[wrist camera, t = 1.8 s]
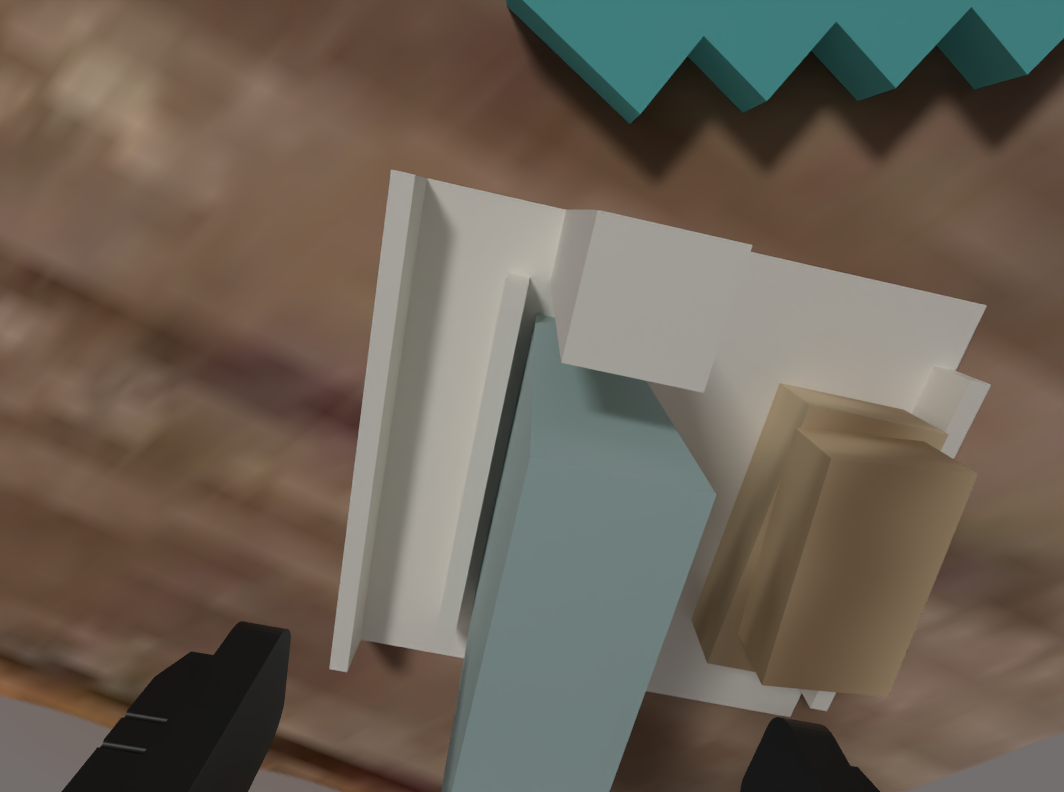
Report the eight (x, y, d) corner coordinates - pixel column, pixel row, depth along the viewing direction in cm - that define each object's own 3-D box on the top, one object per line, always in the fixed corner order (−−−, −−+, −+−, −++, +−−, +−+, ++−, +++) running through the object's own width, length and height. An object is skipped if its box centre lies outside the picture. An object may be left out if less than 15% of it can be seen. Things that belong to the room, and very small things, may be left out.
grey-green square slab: (615, 330, 16) (717, 494, 7) (542, 603, 20) (544, 972, 10) (536, 313, 16) (530, 456, 7) (475, 591, 19) (414, 953, 10)
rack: (961, 300, 17) (1490, 413, 8) (779, 695, 22) (960, 1062, 13) (413, 175, 16) (231, 126, 7) (352, 617, 21) (200, 950, 12)
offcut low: (903, 409, 17) (948, 434, 15) (798, 639, 20) (825, 685, 18) (779, 382, 17) (810, 404, 15) (691, 619, 20) (707, 663, 18)
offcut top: (923, 441, 15) (977, 473, 13) (850, 644, 18) (887, 697, 16) (795, 427, 15) (831, 458, 13) (737, 633, 17) (761, 685, 16)
